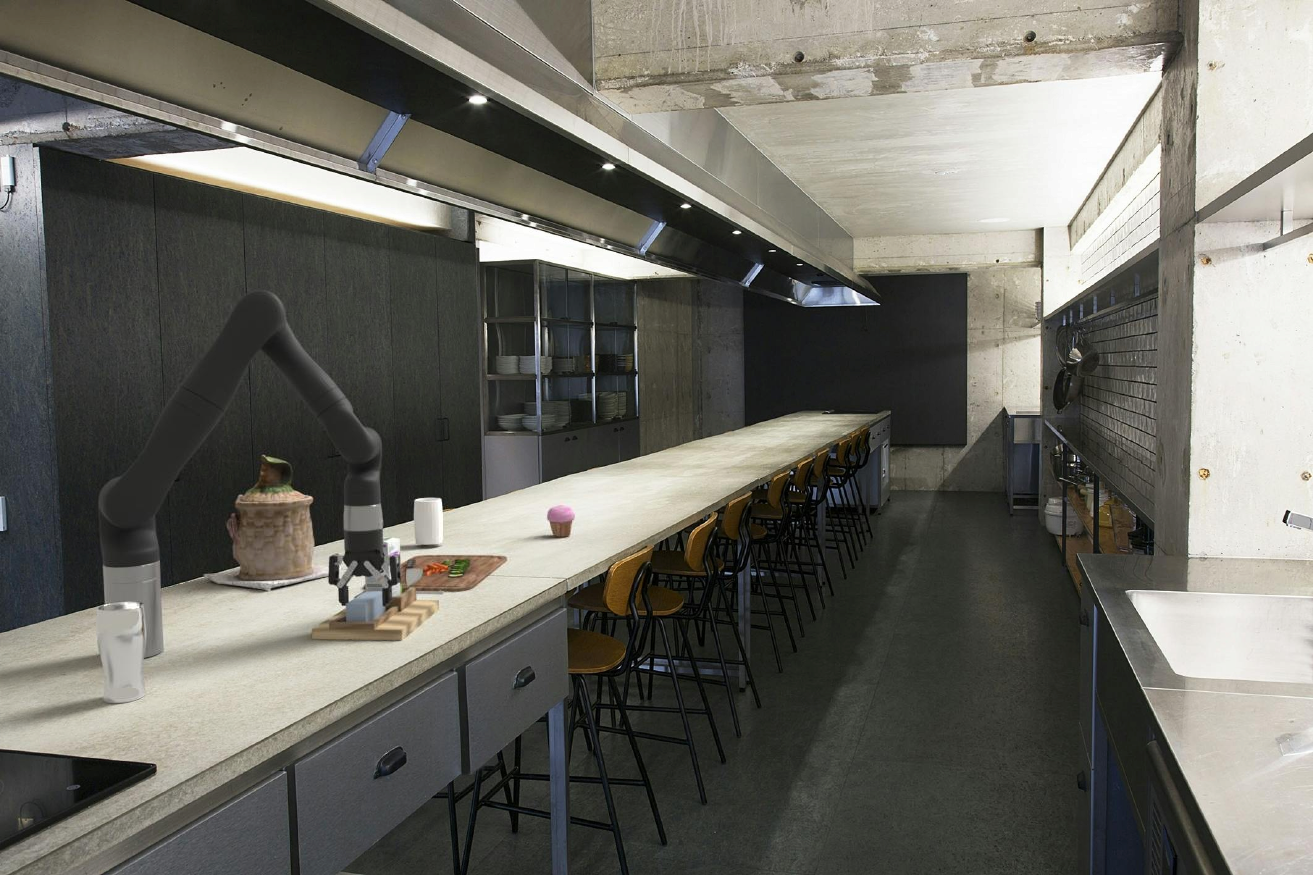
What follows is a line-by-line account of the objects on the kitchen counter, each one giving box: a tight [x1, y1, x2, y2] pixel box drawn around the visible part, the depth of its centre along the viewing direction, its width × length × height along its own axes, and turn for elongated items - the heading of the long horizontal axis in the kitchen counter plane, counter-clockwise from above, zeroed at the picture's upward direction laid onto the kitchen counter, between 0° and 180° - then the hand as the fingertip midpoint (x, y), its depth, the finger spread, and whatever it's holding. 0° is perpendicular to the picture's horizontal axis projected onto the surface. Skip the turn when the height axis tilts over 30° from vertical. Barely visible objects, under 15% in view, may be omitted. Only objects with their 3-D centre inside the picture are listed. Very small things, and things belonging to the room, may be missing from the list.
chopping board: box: [363, 554, 508, 595], centre depth 246 cm, size 45×27×3 cm, turn 175°
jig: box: [311, 587, 440, 641], centre depth 197 cm, size 24×18×5 cm
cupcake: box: [546, 504, 576, 538], centre depth 299 cm, size 9×9×10 cm
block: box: [345, 591, 386, 622], centre depth 192 cm, size 11×4×4 cm, turn 176°
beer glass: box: [95, 601, 147, 705], centre depth 152 cm, size 7×7×15 cm
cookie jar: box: [203, 454, 342, 592], centre depth 241 cm, size 25×25×32 cm
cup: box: [413, 497, 444, 545], centre depth 284 cm, size 8×8×14 cm
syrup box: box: [364, 536, 402, 596], centre depth 203 cm, size 6×6×14 cm
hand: (365, 605), depth 192 cm, fingers open, 8 cm apart
